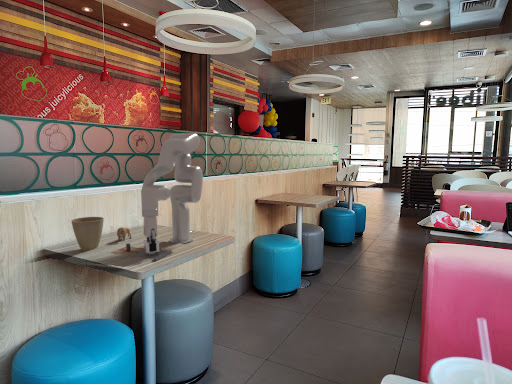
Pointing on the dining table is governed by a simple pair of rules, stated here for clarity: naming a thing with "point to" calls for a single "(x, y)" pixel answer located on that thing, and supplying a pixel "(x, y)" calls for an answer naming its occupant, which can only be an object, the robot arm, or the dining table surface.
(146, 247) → the white hollow box
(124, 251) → the stand
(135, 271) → the dining table surface
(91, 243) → the plant pot
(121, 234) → the lion figurine
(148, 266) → the dining table surface
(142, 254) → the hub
